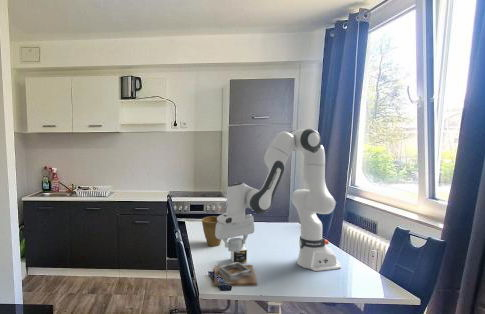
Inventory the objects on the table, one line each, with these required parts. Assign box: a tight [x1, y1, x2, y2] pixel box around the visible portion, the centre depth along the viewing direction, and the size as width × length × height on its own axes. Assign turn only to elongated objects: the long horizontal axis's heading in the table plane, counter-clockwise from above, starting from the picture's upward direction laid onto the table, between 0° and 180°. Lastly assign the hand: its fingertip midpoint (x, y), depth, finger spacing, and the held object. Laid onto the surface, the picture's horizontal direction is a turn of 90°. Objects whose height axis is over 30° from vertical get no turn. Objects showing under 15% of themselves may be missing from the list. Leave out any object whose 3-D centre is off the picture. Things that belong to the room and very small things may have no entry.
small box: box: [227, 237, 243, 252], centre depth 137 cm, size 6×6×5 cm
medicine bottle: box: [230, 244, 248, 264], centre depth 156 cm, size 7×7×12 cm
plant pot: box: [201, 215, 222, 247], centre depth 181 cm, size 15×15×16 cm
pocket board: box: [213, 262, 258, 287], centre depth 138 cm, size 19×19×4 cm
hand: (235, 245), depth 137 cm, fingers closed on small box, 8 cm apart
